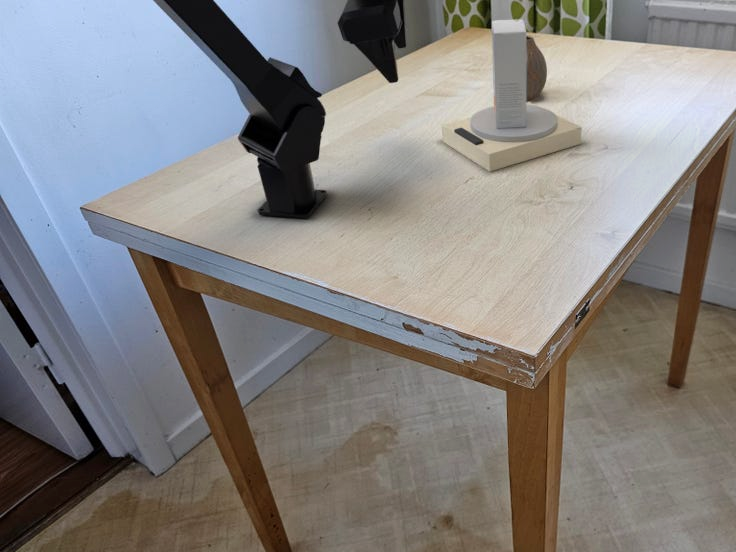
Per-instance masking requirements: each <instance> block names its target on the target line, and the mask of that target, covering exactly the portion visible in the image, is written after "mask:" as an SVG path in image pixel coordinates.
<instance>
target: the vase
mask: <svg viewBox="0 0 736 552" xmlns="http://www.w3.org/2000/svg"><path fill="white" fill-rule="evenodd" d="M526 54H527V63H526V101H530V100H533V99H536V98H538V96H539V95H540V94H541V93H542V92H543V91H544V89H545V85H546V84H547V78H548V67H547V62H546V59H545V55H544V54H543V53H542V51H541V49H540V48H539V47H538V46H537V44H536V41H535V39H534V37H533V36H531V35H526Z"/></svg>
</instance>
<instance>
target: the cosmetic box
mask: <svg viewBox="0 0 736 552" xmlns="http://www.w3.org/2000/svg"><path fill="white" fill-rule="evenodd" d="M526 36H527V29H526V24H525V21H524V19H497V20H492V21H491V48H492V49H491V50H492V51H491V52H492V85H493V86H492V87H493V106H494V113H495V120H496V128H520V127H526V103H527V100H526V63H527V54H526Z"/></svg>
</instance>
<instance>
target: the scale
mask: <svg viewBox="0 0 736 552" xmlns="http://www.w3.org/2000/svg"><path fill="white" fill-rule="evenodd" d="M582 131H583V127H582V126H581V125H578V124H577V123H575V122H572V121H570V120H568V119H566V118H564V117H562V116H560V115H558V114H556V113H554V112H553V111H552V110H550V109H547V108H545V107H542V106H539V105H537V104H534V103H533V102H531V101H528V102H527V101H526V127H520V128H496V120H495V113H494V105H493V106H490V107H486V108H483V109H481V110H479V111H477V112H475V113H474V114H473V115H472V116H470V117H467V118H463V119H459V120H454V121H451V122H448V123H444V124H441V135H442V136H441V137H442V143H444V144H445V145H448V146H449V147H451V148H452V149H454V150H455V151H456V152H458V153H460V154H461V155H463V156H464V157H466V158H468V159H469V160H470V161H473V162H474V163H476V164H477V165H479V166H480V167H482V168H483V169H484V170H486V171H488V172H490V173H491V172H493V171H497V170H500V169H503V168H507V167H510V166H513V165H517V164H520V163H523V162H526V161H530V160H532V159H537V158H540V157H543V156H545V155H550V154H553V153H555V152H560V151H563V150H565V149H568V148H572V147H575V146H579V145H581V144H582Z"/></svg>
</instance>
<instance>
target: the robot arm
mask: <svg viewBox="0 0 736 552" xmlns="http://www.w3.org/2000/svg"><path fill="white" fill-rule="evenodd" d="M152 1H153V2H154V3H155V4H156V5H157V6H158V7H159V8H160V9H161V10H162V11H163V12H164V13H165V14H166V15H167V17H169V19H170V20H172V22H173V23H175V25H176V26H177V27H178V28H179V29H180V30H181V31H182V32H183V33H184V34H185V35H186V36H187V38H189V39H190V40H191V41H192V42H193V43H194V44H195V45H196V46H197V48H199V49H200V50H201V51H202V52H203V53H204V55H206V56H207V57H208V58H209V59H210V61H211V62H212V63H213V64H214V65H215V66H216V67H217V68H218V69H219V70H220V71H221V72H222V73H223V74H224V75H225V76H226V77H227V78H228V79H229V80H230V81H231V83H232V84H233V86H234V89H235V91H236V93H237V95H238V97H239V100H240V102H241V103H242V105H243V106H244V108H245V109H246V111H247V112H248V117H247V119H246V120H245V122H244V124H243V126H242V128H241V130H240V132H239V134H238V136H237V140H238V142H239V143H240V144H241V146H242V147H243V149H244V151H245V152H246V153H248V154H251V155H253V156H256V157H257V158H256V162H257V170H258V174H259V177H260V182H261V185H262V188H263V192H264V196H265V200H266V201H265V202H264V203H263V204H262V205H261V206H259V208H258V209H257V213H258V215H260V216H271V217H272V216H273V217H285V218H297V219H307V218H309V217H310V216H311V215H312V214H313V213H314V212H315V210H316V209H317V208H318V207H319V205H321V203H322V202H323V201H324V199H325V198H327V196H328V191H327V190H326V189H317V188H316V187H315V182H314V178H313V173H312V167H311V163H314V162H317V161H319V158H320V152H321V140H322V132H323V131H324V127H325V124H326V115H327V112H326V108H325V107H324V105H323V103H322V102H321V100H319V98H322V96H323V94H322V93H321V92H319V91H317V90H316V89H314V88H313V87H312V86H311V84H310V83H309V81H308V80H307V77H306V76H305V75H304V73H303V72H302V71H301V69H300V68H299V67H298V66H295V65H293V64H289V63H287V62H284V61H282V60H278V59H276V58H274V57H271V56H269V57H268V59H266V57H265V56H264V55H262V53H261V52H260V51H259V50H258V49H257V47H256V46H255V45H254V44H253V43H252V42H251V40H249V39H248V37H247V36H246V35H245V34H244V33H243V32H242V30H241V29H240V28H239V27H238V26H237V25H236V24H235V22H234V21H233V20H232V19H231V18H230V17H229V16H228V15H227V14H226V12H224V10H223V9H222V8H221V7H220V6H219V4H217V2H216V1H215V0H152ZM405 1H406V0H347V1H346V3H345V4H344V6H343V8H342V11H341V13H340V16H339V18H338V20H337V26H338V30H339V33H340V35H341V38H342V40H343V41H344V42H346V43H347V42H348V43H349V44H350V45H354V47H356V48H357V49H358V51H359V52H361V54H362V55H364V56H365V58H366V59H368V61H369V62H370V63H371V64H372V65H373V66H374V67H375V69H376V70H377V71H378V72H379V73H380V74H381V75H382V77H383V78H384V79H385V80H386V81H387V83H389V84H394V83H398V82H399V73H398V63H397V62H398V61H397V53H396V47H397V49H405V48H406V47H407V25H406V5H405V3H406V2H405ZM395 46H396V47H395Z"/></svg>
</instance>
